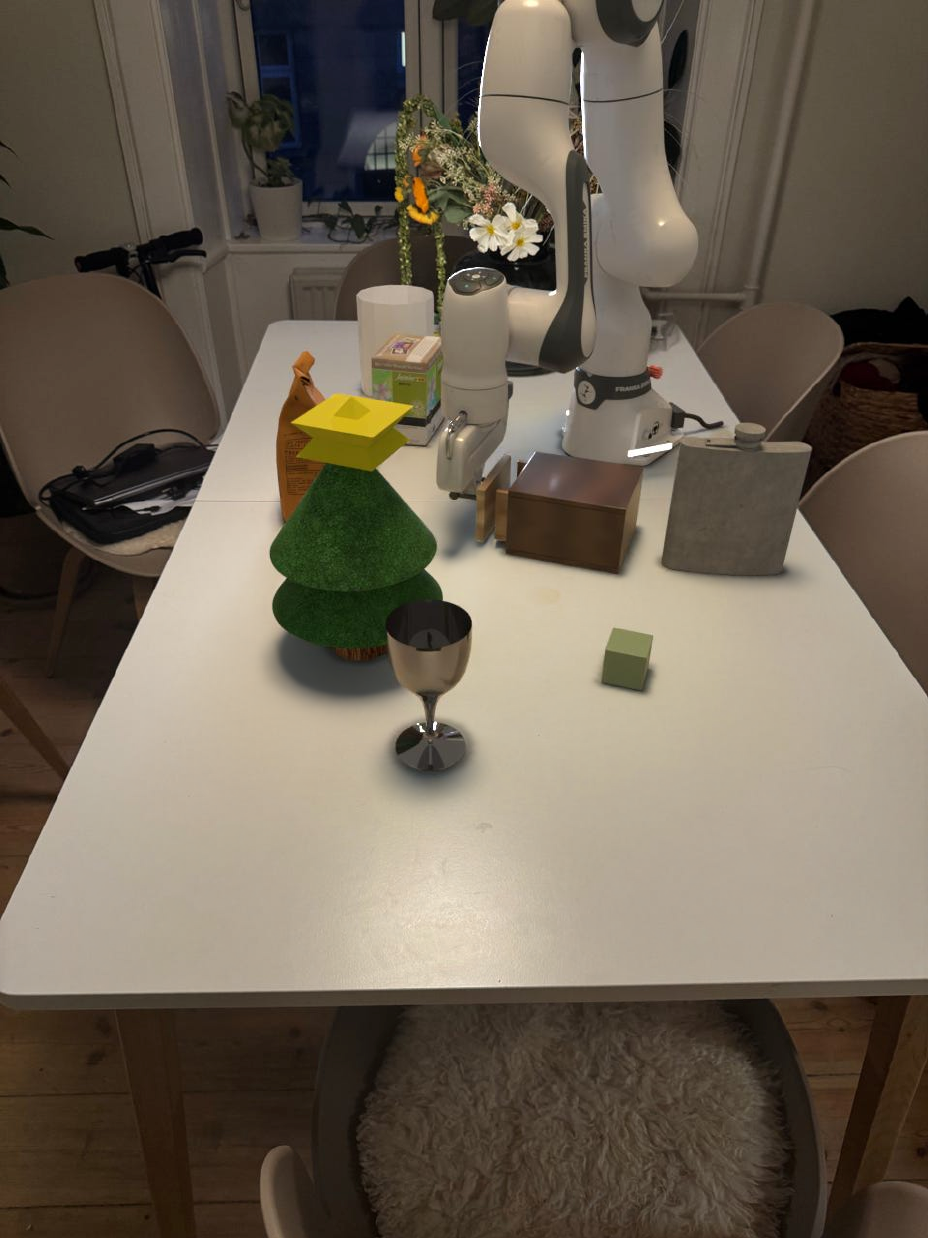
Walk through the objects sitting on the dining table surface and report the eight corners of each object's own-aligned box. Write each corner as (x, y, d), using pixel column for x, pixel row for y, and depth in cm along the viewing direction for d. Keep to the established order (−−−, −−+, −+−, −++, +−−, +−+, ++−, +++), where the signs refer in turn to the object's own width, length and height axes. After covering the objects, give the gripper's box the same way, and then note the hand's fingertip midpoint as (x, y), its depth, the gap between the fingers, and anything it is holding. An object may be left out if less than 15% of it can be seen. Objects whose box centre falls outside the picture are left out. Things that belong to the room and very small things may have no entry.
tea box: (428, 447, 150) (427, 361, 142) (372, 441, 152) (367, 356, 144) (447, 415, 163) (447, 334, 154) (395, 411, 164) (392, 330, 156)
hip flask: (778, 563, 119) (813, 422, 108) (785, 578, 116) (821, 435, 104) (660, 556, 120) (682, 416, 109) (662, 571, 117) (685, 429, 106)
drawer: (442, 534, 123) (442, 483, 119) (470, 497, 133) (471, 449, 128) (577, 558, 118) (582, 506, 113) (597, 518, 127) (602, 468, 123)
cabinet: (505, 553, 120) (508, 490, 115) (531, 511, 131) (535, 450, 126) (618, 574, 116) (626, 509, 111) (635, 528, 127) (644, 466, 122)
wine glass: (390, 721, 91) (384, 600, 83) (466, 718, 92) (468, 597, 83) (391, 775, 85) (385, 650, 76) (473, 771, 85) (476, 646, 77)
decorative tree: (330, 585, 113) (309, 353, 96) (468, 618, 107) (472, 377, 90) (245, 668, 98) (203, 412, 82) (399, 712, 93) (388, 446, 76)
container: (371, 374, 181) (367, 283, 171) (440, 378, 180) (440, 286, 169) (354, 398, 169) (349, 302, 159) (428, 403, 168) (427, 306, 158)
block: (609, 659, 101) (613, 627, 98) (648, 667, 99) (653, 634, 97) (601, 682, 97) (605, 649, 95) (641, 690, 96) (646, 657, 93)
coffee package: (351, 488, 137) (341, 346, 124) (345, 526, 127) (334, 376, 114) (287, 488, 136) (271, 346, 124) (275, 526, 126) (257, 376, 114)
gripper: (471, 431, 108) (469, 530, 116) (517, 379, 124) (512, 469, 132) (423, 424, 110) (425, 522, 118) (474, 374, 126) (473, 463, 134)
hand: (471, 494), depth 125 cm, fingers closed
